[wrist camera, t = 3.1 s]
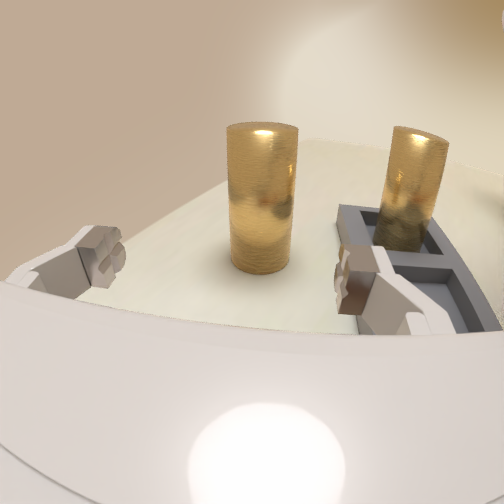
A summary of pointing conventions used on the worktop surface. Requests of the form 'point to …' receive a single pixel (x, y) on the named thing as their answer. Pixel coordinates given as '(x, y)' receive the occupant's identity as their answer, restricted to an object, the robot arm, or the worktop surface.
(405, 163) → the seated billet
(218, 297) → the worktop surface
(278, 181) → the cylinder
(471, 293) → the grey divided frame
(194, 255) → the worktop surface
